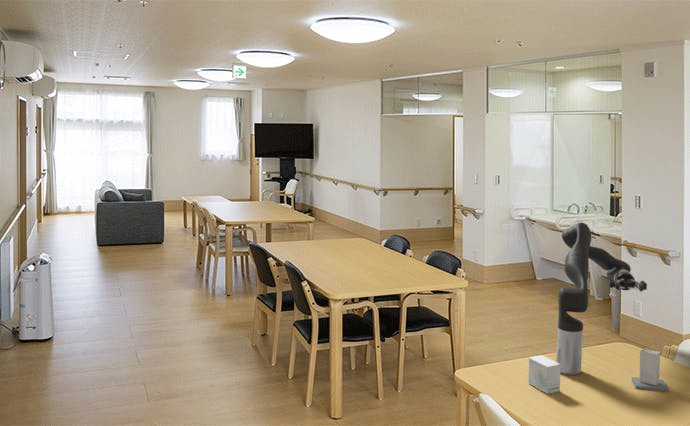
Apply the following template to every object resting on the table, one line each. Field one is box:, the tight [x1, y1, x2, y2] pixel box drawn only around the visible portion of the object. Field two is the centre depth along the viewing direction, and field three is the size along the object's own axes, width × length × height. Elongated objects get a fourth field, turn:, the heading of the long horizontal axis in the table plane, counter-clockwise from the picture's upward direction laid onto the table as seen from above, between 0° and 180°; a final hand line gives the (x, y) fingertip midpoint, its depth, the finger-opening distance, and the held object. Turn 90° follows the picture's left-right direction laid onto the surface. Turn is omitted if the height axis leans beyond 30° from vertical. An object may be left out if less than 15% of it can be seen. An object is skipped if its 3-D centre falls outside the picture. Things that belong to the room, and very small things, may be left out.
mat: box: [631, 376, 669, 392], centre depth 239 cm, size 11×9×1 cm
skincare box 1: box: [528, 354, 561, 395], centre depth 236 cm, size 10×6×10 cm, turn 23°
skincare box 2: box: [638, 348, 661, 386], centre depth 238 cm, size 6×4×12 cm
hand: (630, 288), depth 263 cm, fingers open, 8 cm apart
